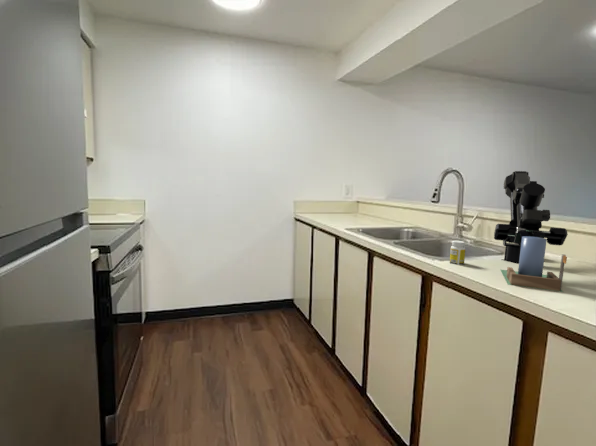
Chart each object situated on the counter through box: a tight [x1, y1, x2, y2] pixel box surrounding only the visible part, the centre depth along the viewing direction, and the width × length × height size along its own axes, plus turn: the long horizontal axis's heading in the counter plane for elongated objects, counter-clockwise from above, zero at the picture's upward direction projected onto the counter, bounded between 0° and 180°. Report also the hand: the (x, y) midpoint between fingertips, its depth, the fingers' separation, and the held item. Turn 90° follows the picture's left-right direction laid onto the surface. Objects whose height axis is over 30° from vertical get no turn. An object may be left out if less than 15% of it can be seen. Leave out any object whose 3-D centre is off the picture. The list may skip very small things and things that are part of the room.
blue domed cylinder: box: [517, 236, 547, 277], centre depth 102 cm, size 6×6×13 cm
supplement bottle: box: [449, 240, 466, 266], centre depth 123 cm, size 5×5×8 cm
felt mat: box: [500, 269, 564, 293], centre depth 104 cm, size 19×13×1 cm
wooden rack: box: [506, 254, 568, 292], centre depth 99 cm, size 12×12×10 cm
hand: (530, 255), depth 105 cm, fingers closed
